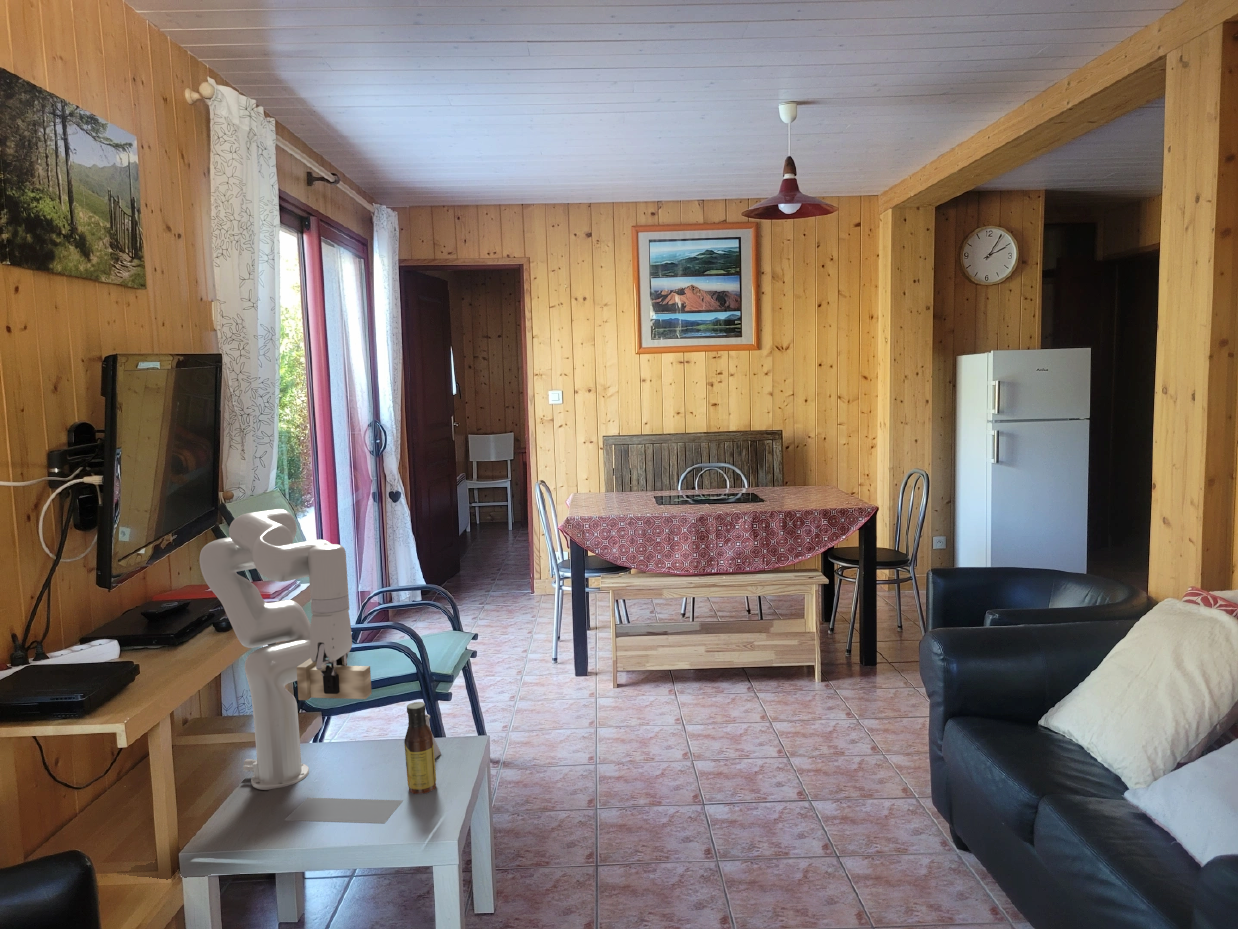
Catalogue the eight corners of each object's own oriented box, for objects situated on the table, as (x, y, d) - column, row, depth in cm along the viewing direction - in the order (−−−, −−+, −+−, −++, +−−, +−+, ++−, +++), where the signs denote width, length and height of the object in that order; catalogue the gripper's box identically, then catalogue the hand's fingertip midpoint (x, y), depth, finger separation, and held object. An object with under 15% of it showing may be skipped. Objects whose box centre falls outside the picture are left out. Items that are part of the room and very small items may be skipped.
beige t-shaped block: (298, 700, 181) (296, 667, 180) (312, 689, 187) (310, 658, 186) (362, 701, 179) (360, 668, 178) (374, 691, 185) (372, 659, 184)
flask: (423, 765, 208) (421, 724, 207) (403, 758, 212) (401, 718, 211) (446, 754, 213) (444, 714, 213) (427, 747, 218) (424, 709, 217)
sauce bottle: (417, 782, 198) (412, 697, 196) (442, 785, 196) (436, 699, 194) (402, 795, 192) (396, 708, 190) (427, 798, 190) (421, 710, 188)
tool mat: (284, 823, 182) (284, 820, 182) (307, 800, 192) (307, 797, 191) (384, 826, 179) (384, 823, 178) (403, 803, 188) (403, 800, 188)
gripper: (331, 595, 190) (336, 677, 191) (293, 614, 174) (299, 704, 175) (364, 594, 189) (369, 677, 190) (328, 614, 173) (334, 704, 174)
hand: (335, 689), depth 183 cm, fingers closed on beige t-shaped block, 3 cm apart
